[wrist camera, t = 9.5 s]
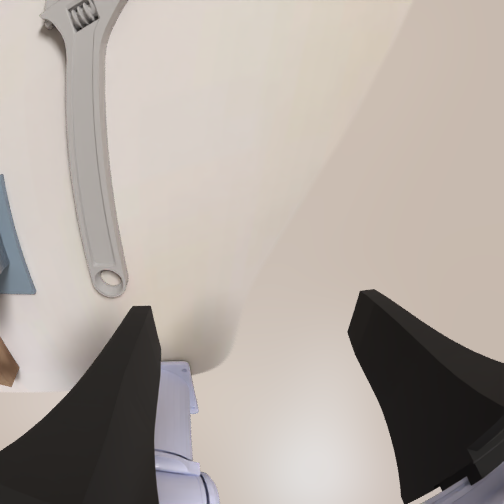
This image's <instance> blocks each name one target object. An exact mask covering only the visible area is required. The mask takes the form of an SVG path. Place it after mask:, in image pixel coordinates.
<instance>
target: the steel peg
mask: <svg viewBox="0 0 504 504" xmlns="http://www.w3.org/2000/svg"><path fill="white" fill-rule="evenodd" d="M9 263H10V262H9V259H8V256H7V253H6V250H5V247H4V243H3V240H2V237H1V234H0V274H1V273H2V271H3V270H4V269H5V268H6V267H7V265H8V264H9Z"/></svg>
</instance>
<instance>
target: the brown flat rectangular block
mask: <svg viewBox="0 0 504 504" xmlns="http://www.w3.org/2000/svg"><path fill="white" fill-rule="evenodd" d="M18 370H19V366H18V365H17V363H16V362H15V360H14V359H13V357H12V356H11V354H10V352H9V351H8V349H7V348H6V346H5V344H4V343H3V341H2V339H1V338H0V384H1V385H5V386H9V387H12V385H13V382H14V379H15V377H16V374H17V372H18Z"/></svg>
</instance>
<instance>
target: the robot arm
mask: <svg viewBox="0 0 504 504" xmlns="http://www.w3.org/2000/svg"><path fill="white" fill-rule="evenodd" d="M348 335H349V338H350V341H351V344H352V347H353V350H354V352H355V355H356V357H357V359H358V361H359V363H360V365H361V367H362V369H363V371H364V373H365V375H366V377H367V379H368V381H369V383H370V385H371V387H372V389H373V391H374V393H375V395H376V397H377V399H378V402H379V404H380V406H381V409H382V411H383V414H384V417H385V420H386V423H387V426H388V429H389V433H390V436H391V440H392V444H393V447H394V452H395V457H396V461H397V467H398V472H399V480H400V489H401V497H402V500H403V502H404V504H408V503H410V502H412V501H414V500H416V499H418V498H420V497H422V496H424V495H425V494H427V493H429V492H431V491H433V490H434V489H436V488H438V487H441V489H442V492H440V493H439V494H437V495H435V496H434V497H432V498H430V499H428V500H427V501H425V502H423V503H421V504H504V363H501V362H498V361H495V360H493V359H490V358H488V357H485V356H483V355H481V354H478V353H476V352H474V351H472V350H470V349H468V348H466V347H464V346H462V345H460V344H458V343H456V342H454V341H453V340H451V339H449V338H447V337H446V336H444V335H442V334H441V333H439V332H437V331H436V330H434V329H433V328H431V327H430V326H428V325H427V324H425V323H424V322H422V321H420V320H419V319H418V318H416V317H415V316H413V315H412V314H411V313H409V312H408V311H406V310H405V309H403V308H402V307H401V306H399V305H397V304H396V303H395V302H393V301H392V300H390V299H389V298H387V297H386V296H384V295H383V294H381V293H380V292H378V291H376V290H374V289H373V290H365V291H360V293H359V296H358V300H357V303H356V306H355V310H354V313H353V316H352V319H351V322H350V326H349V329H348ZM198 411H199V410H198V405H197V401H196V396H195V392H194V387H193V382H192V377H191V372H190V366H189V363H188V362H186V361H165V362H161V347H160V343H159V339H158V335H157V331H156V327H155V323H154V318H153V314H152V309H151V306H133V307H132V308H131V309H130V310H129V312H128V313H127V315H126V316H125V318H124V319H123V321H122V323H121V324H120V326H119V327H118V329H117V330H116V331H115V333H114V334H113V336H112V337H111V339H110V340H109V342H108V343H107V344H106V346H105V347H104V349H103V350H102V352H101V353H100V354H99V356H98V357H97V358H96V360H95V361H94V362H93V364H92V365H91V366H90V368H89V369H88V370H87V371H86V373H85V374H84V375H83V377H82V378H81V379H80V380H79V381H78V383H77V384H76V385H75V386H74V387H73V388H72V389H71V391H70V392H69V393H68V394H67V395H66V396H65V397H64V398H63V399H62V400H61V401H60V403H58V404H57V405H56V406H55V407H54V408H53V409H52V410H51V411H50V412H49V413H48V414H47V415H46V416H45V417H44V418H43V419H42V420H41V421H40V422H38V423H37V424H36V425H35V426H34V427H33V428H31V429H30V430H29V431H28V432H26V433H25V434H24V435H23V436H21V437H20V438H19V439H17V440H16V441H15V442H13V443H12V444H10V445H9V446H7V447H6V448H4V449H3V450H1V451H0V504H220V501H219V495H218V491H217V488H216V485H215V483H214V482H213V480H212V479H211V478H210V477H209V476H208V474H206V473H204V472H200V463H198V462H193V458H192V441H191V421H190V420H191V419H190V414H196V413H198Z"/></svg>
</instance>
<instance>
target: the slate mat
mask: <svg viewBox="0 0 504 504" xmlns="http://www.w3.org/2000/svg"><path fill="white" fill-rule="evenodd" d="M0 234H1V237H2V240H3V243H4V247H5V250H6V253H7V256H8V259H9V262H10V263H9V264H8V265H7V267H6V268H5V269H4V270H3V271H2V273H1V274H0V293H1V294H35V292H36V290H35V287H34V285H33V282H32V279H31V277H30V274H29V271H28V268H27V266H26V263H25V260H24V257H23V254H22V251H21V247H20V244H19V241H18V237H17V234H16V230H15V227H14V223H13V219H12V215H11V211H10V207H9V203H8V198H7V193H6V188H5V183H4V177H3V174H1V175H0Z"/></svg>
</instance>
